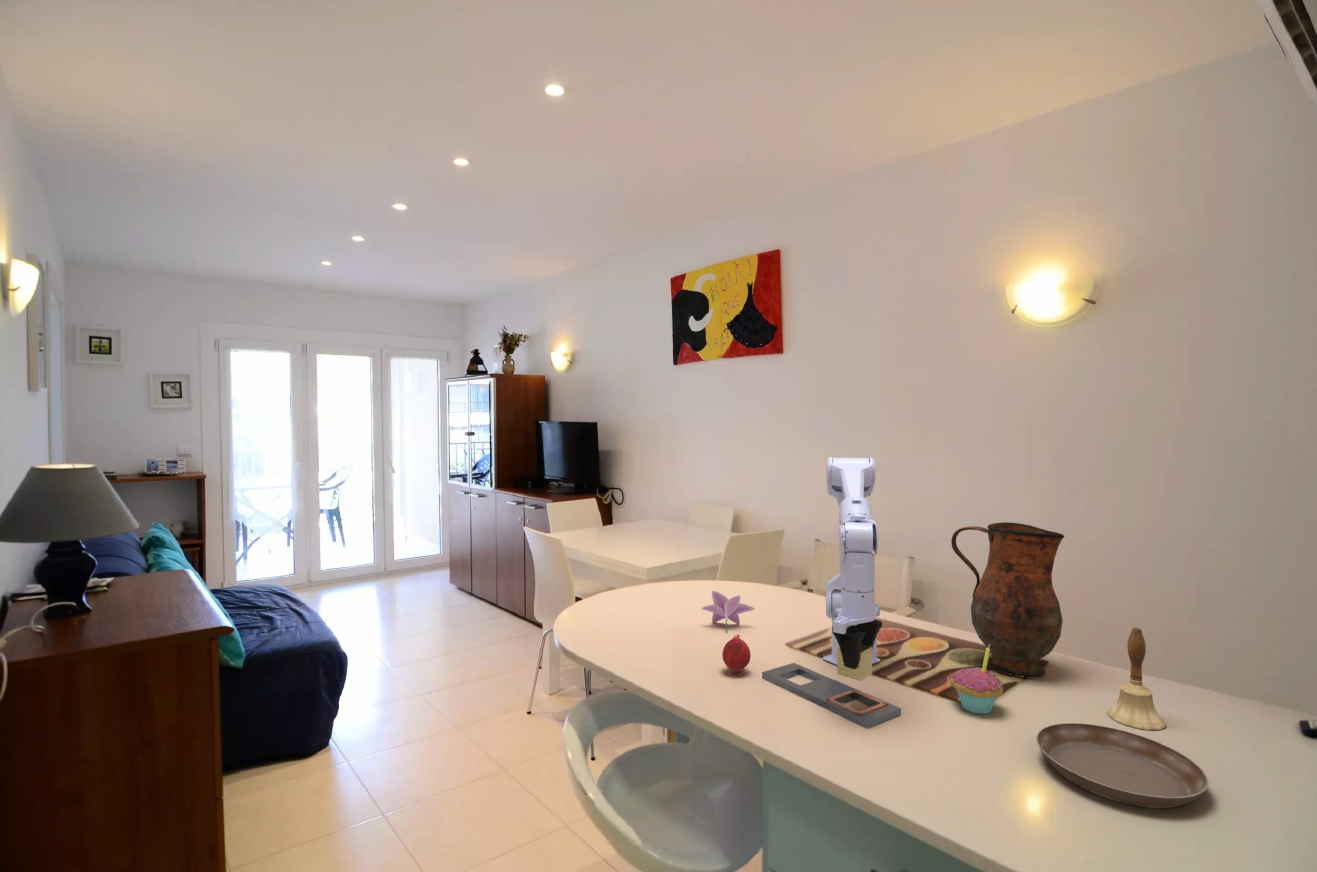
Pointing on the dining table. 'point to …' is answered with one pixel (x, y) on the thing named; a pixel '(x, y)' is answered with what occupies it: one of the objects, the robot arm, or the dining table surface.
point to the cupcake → (977, 687)
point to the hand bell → (1136, 692)
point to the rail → (832, 695)
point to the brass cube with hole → (862, 668)
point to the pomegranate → (736, 654)
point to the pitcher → (1016, 597)
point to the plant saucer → (1122, 765)
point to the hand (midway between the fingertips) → (857, 663)
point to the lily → (726, 608)
